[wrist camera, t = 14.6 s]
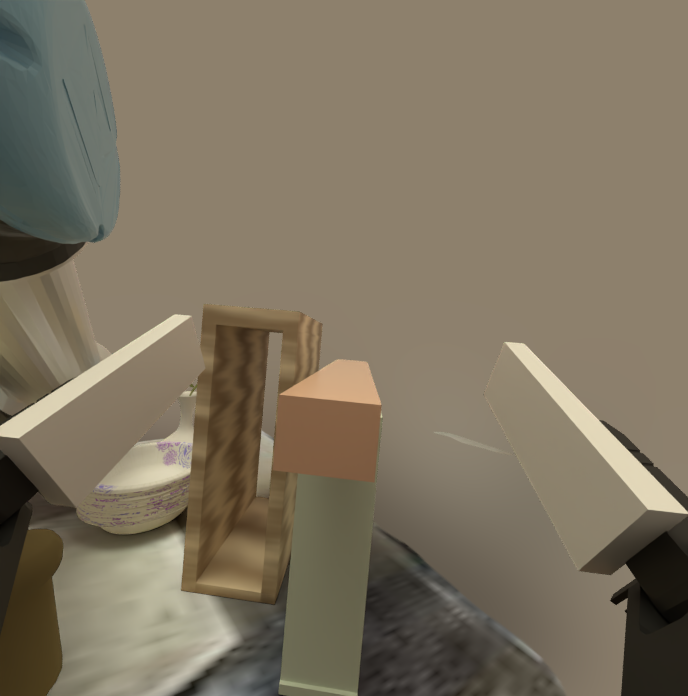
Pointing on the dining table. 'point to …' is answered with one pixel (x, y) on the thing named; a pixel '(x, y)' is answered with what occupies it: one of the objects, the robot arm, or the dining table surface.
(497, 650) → the dining table surface
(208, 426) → the birch stand
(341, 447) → the salmon orange bar
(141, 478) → the paper bowls
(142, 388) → the robot arm
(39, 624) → the cork
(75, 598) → the dining table surface
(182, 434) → the flower in vase
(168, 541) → the dining table surface
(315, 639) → the pale green rectangular frame
